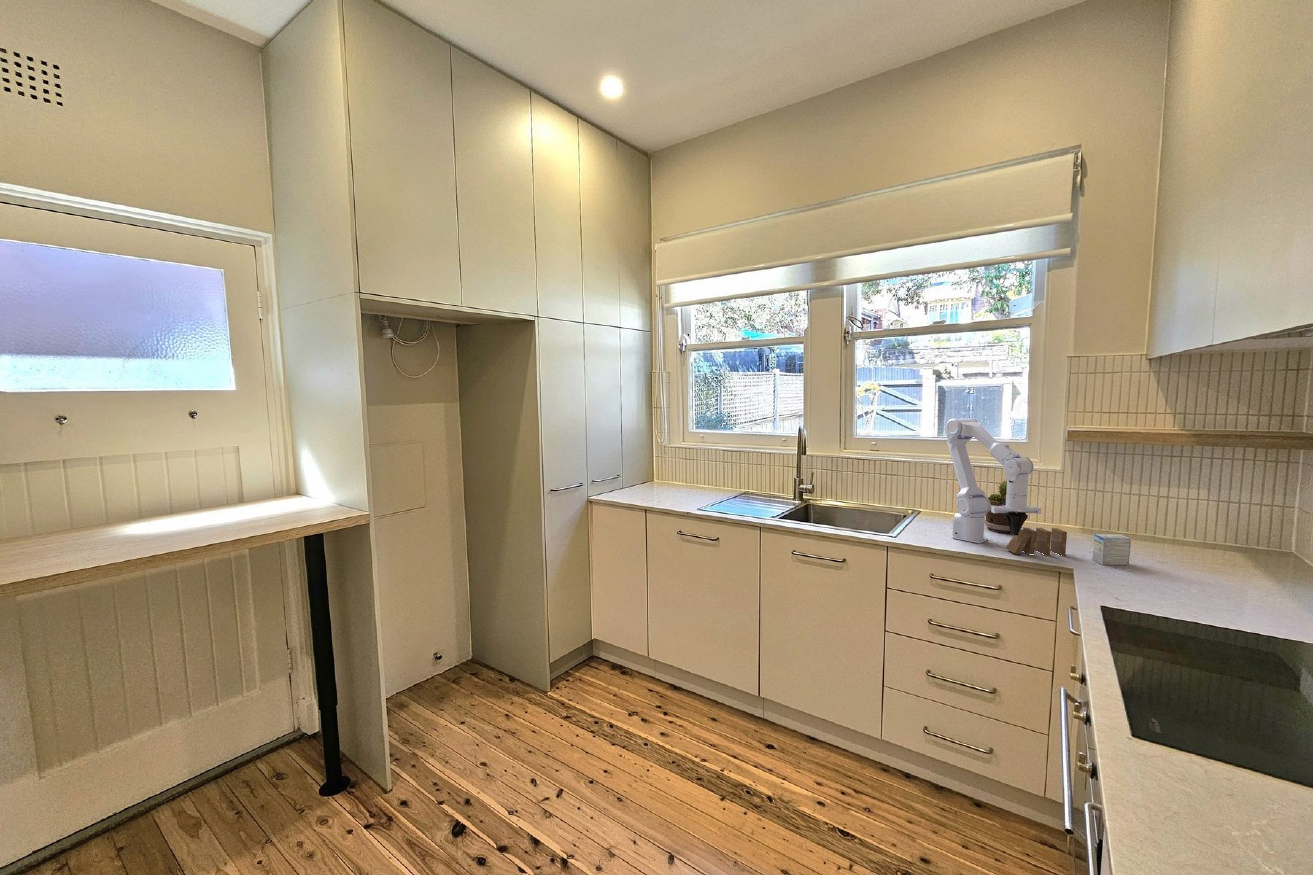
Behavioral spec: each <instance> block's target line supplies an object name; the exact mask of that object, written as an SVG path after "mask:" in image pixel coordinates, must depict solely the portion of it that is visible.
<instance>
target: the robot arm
mask: <svg viewBox="0 0 1313 875" xmlns="http://www.w3.org/2000/svg"><path fill="white" fill-rule="evenodd" d="M944 430H945V434H946V440H947V441H946V442H947V447H948V450H949V451H948V452H949V454H950V457H951V460H952V464H953V468H954V472H955V475H956V477H957V478H956V479H957V482H958V485H959V489H960V491H959V492H958V493H957V494H956V496H955V497H956V508H957V511H958V512H956V513H955V514H954V516H953V522H952V536H951V539H953V540H954V539H955V540H961V541H966V542H970V543H976V544H982V543H984V542H986V541H987V540H989V538H988V537H986V536H985V523H984V522H985V520H986V517H985V516H986V513H987V512H989V510H990V508H991V512H992V513H1004V516H1005V517H1006V519H1007V521H1008V524H1009V527H1010V532H1011V533H1010V534H1011V535H1013V536H1014V535H1019V532H1020V529H1022V528H1023V525H1024V523H1025V522H1026V520H1027V519H1028V518H1029V514H1037V515H1041V514H1042V508H1041V507H1039V506H1031V505H1030V506H1029V505H1028V493H1029V492H1028V491H1029V475H1030V474H1031V473H1032V472H1033V471H1034V463H1033V461H1032V460H1031V459H1030V457H1029V456H1021V454H1020V453H1019V452H1016V451H1015V450H1014V449H1013V448H1011V447H1010V444H1009V443H1007V442H1006V443H1005V442H999V441H997V440H996V438H995V437H994V436H992V435H991V434H990V433H989V431H987V430H986V429H985V428H984V427H983V424H982V422H980V421H979V420H978V419H976V418H973V417H969V418H951V419H949V420H948V421H947V423H946V425H945V426H944ZM973 438H974V439H975V440H976V441H978V442H979V443H980V444H982V445H983V446H984V447H985V448H988V449H989V455H990V456H991V457H992V458H994V460H996V461H997V462H998V463H999V464H1001V465H1002V468H1003V471H1004V473H1005V479H1006V478H1007V492H1006V506H991V504H990V501H989V499H988V496H987V495H986V492H985V491H983V490H982V489H981V488H980V487H978V484H977V480H976V477H975V473H974V470H973V467H972V466H973V465H972V464H971V459H970V457H969V454H968V450H967V447H966V445H967V444H968V442H970V441H971V440H972V439H973ZM1021 527H1022V528H1021Z"/></svg>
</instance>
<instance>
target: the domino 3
mask: <svg viewBox="0 0 1313 875" xmlns="http://www.w3.org/2000/svg"><path fill="white" fill-rule="evenodd" d="M1035 528H1036V529H1035V531H1037V532H1038V533H1037V539H1036V546H1035V552H1036V551H1038V552H1040V553H1043V554H1044V555H1051V551H1050V547H1051V531H1050V530H1048V529H1045V528H1043V527H1035ZM1038 552H1037V553H1038ZM1040 553H1039V554H1040ZM1044 555H1043V556H1044Z"/></svg>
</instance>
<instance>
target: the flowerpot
mask: <svg viewBox="0 0 1313 875" xmlns="http://www.w3.org/2000/svg"><path fill="white" fill-rule="evenodd" d="M1005 479H1006V480H1005ZM1005 479H1003V480H1002V481H1001V482H1000V483H999V485H998V486H997V489H999V490H997V491H995V492H994V493H990V496H989V497H988V496H987V498H988V499H989V501H990V504H991V506H1006V492H1007V478H1006V477H1005ZM996 492H997V493H996ZM984 526H986V528H987V529H988V530H989V531H992V532H995V533H1002V534H1006V533H1010V534H1011V532H1010V527H1009V524H1008V521H1007V519H1006V517H1005V516H1004V513H992V512H991V508H990V510H989V512H987V513H986V516H985V522H984ZM1021 529H1023V526H1022V527H1021Z"/></svg>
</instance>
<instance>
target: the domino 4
mask: <svg viewBox="0 0 1313 875" xmlns="http://www.w3.org/2000/svg"><path fill="white" fill-rule="evenodd" d="M1050 532H1051V543H1050V552H1051V551H1052V552H1051V553H1053V552H1054V553H1053V554H1055V553H1057V554H1059V555H1060V556H1059V555H1058V556H1059V557H1064V556H1063V555H1065V556H1066V554H1067V553H1066V551H1067V537H1068V536H1067V534H1068V531H1065V530H1062V529H1061V528H1058V527H1051V531H1050ZM1057 554H1056V555H1057ZM1061 555H1062V556H1061Z"/></svg>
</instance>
